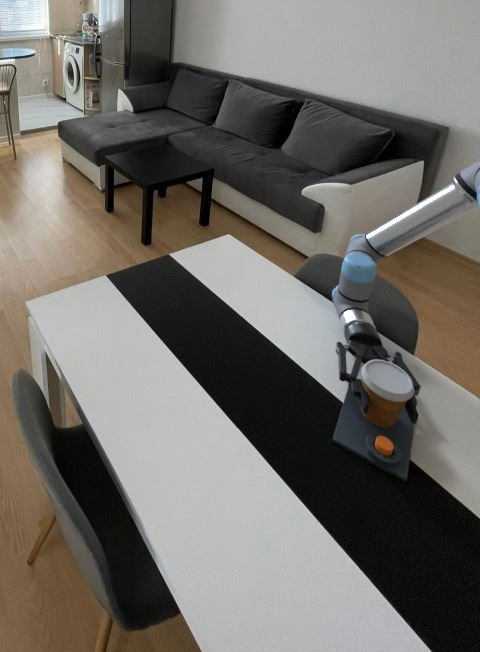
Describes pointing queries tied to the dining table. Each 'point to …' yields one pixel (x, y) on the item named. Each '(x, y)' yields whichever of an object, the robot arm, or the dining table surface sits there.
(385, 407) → the disposable coffee cup
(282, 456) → the dining table surface
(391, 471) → the scale
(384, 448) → the button
